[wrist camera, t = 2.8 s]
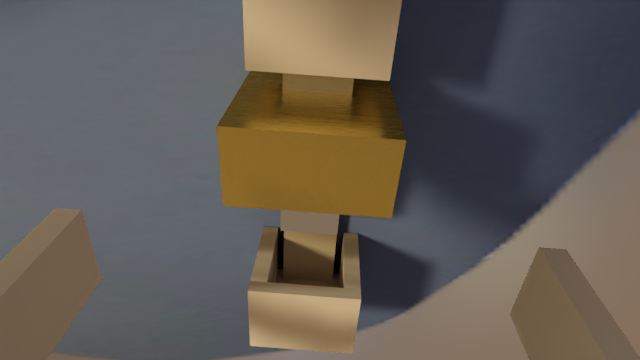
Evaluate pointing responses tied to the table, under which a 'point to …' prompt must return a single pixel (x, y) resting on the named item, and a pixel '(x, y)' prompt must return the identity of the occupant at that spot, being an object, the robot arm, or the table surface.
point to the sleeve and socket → (303, 248)
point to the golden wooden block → (311, 149)
